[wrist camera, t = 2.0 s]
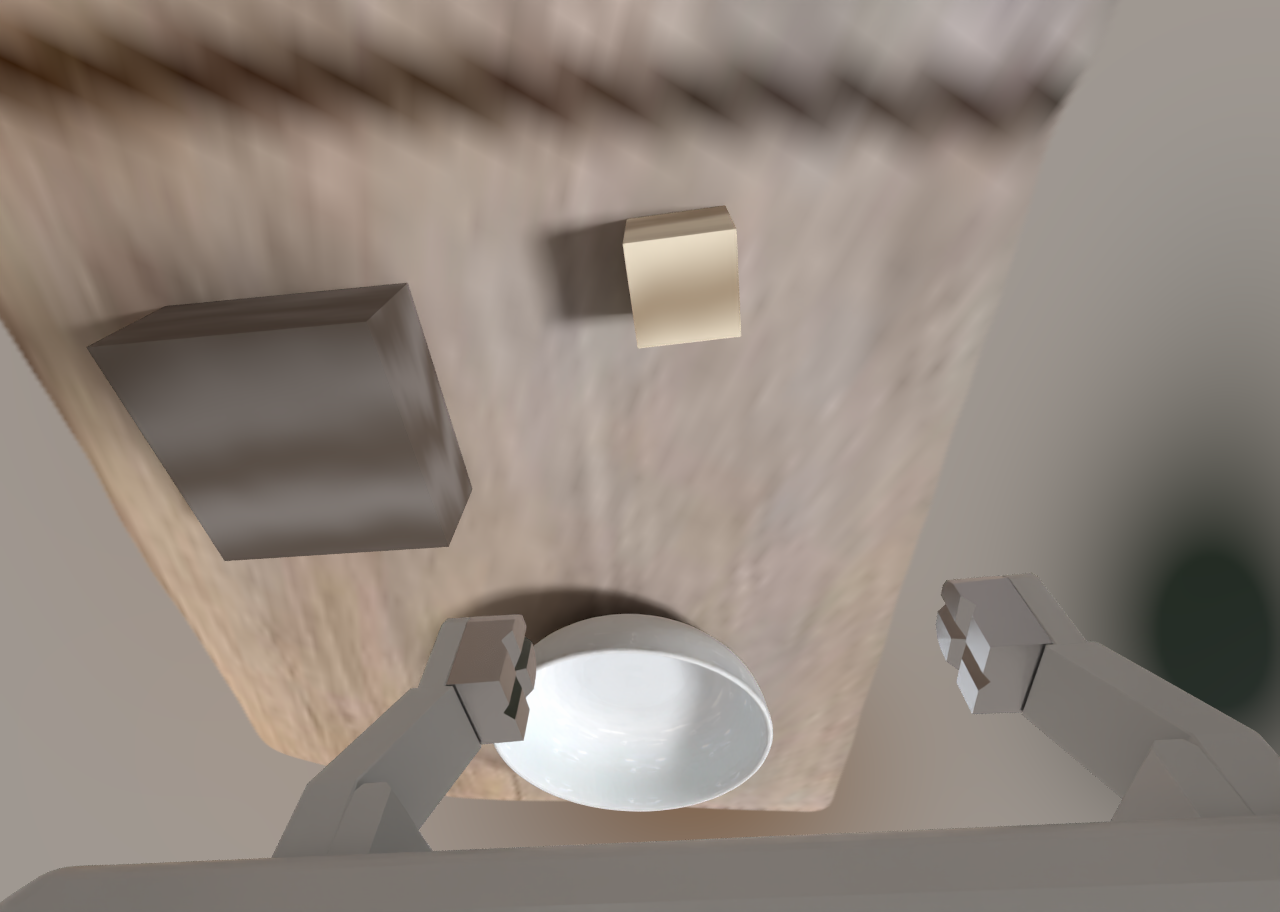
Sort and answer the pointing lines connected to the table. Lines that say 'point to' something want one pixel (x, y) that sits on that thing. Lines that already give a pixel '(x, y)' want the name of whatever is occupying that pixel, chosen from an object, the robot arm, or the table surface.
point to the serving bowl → (639, 716)
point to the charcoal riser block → (296, 420)
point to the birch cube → (683, 276)
